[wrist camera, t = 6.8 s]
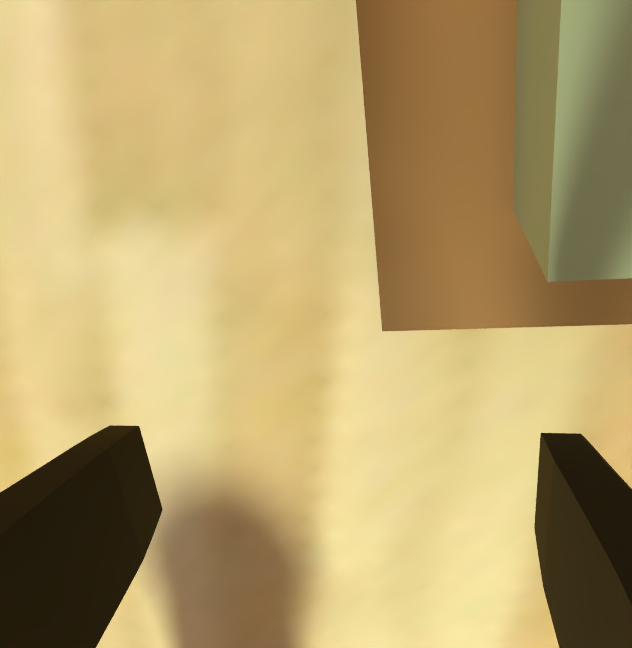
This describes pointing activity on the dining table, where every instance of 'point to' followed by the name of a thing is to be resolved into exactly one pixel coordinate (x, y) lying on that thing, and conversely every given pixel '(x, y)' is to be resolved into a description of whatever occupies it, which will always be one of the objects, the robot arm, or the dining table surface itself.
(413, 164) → the base block
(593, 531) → the robot arm
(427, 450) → the dining table surface
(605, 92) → the cube
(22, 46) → the dining table surface
